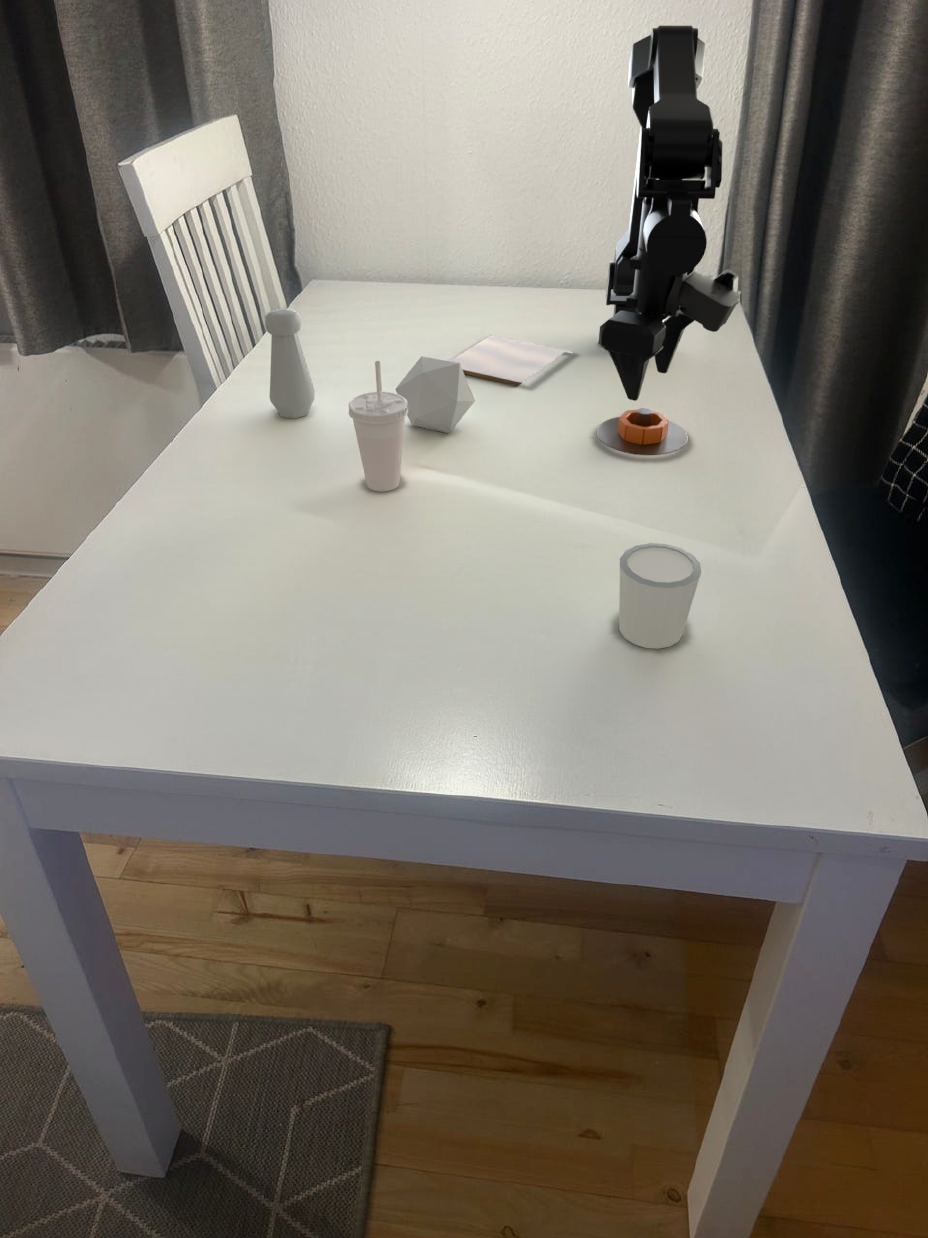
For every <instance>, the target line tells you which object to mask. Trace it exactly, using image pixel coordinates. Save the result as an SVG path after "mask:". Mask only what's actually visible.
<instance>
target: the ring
mask: <svg viewBox="0 0 928 1238" xmlns="http://www.w3.org/2000/svg"><path fill="white" fill-rule="evenodd" d="M638 409H639V408H638ZM638 409H629V410H628V409H627V410H625V411H624V412H623V413H622V414H621V415H620V416H618V417H619V424H618V434H619V435H620V436H621V437H622V438H623V440H625V441H628V442H632V443H636V444H640V445H642V444H643V445H646V444H654V443H659V442H662V440H663V439H664V438H665V437H666V436H667V432H668V425H669V421H670V420H669V418H667V416H665V414H663V413H662V412H660V411H655V410H652V420H651V426H648V427H643V426H638V425H636V418H637V411H638Z"/></svg>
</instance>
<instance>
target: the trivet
mask: <svg viewBox="0 0 928 1238" xmlns="http://www.w3.org/2000/svg"><path fill="white" fill-rule="evenodd" d="M564 353H568V354H569V353H570V354H575V351H571V350H566V349H562V348H558V347H557V348H556V347H552V346H546V345H542V344H537V343H532V342H527V341H522V340H518V339H513V338H509V337H504V336H503V337H501V336H497V335H493V334H490V335H489V336H487V337H485V338H484V339H482V340H480V341H478V343H476V344H474V345H472V346H471V347H469V348H468V349H465V351H463V352H462V353H460V354H458V355H456V356H455V357H454V358H452V359H450V360H449V361H450V362H456V363H460V365H461V368H462V370H463V373H464V375H468V376H472V377H476V378H480V379H484V380H489V381H494V382H498V383H502V384H507V385H511V386H516V387H519V386H521V385H522V384H523V383H525V382H527V380H529V379H530V378H532V377H534V375H535V374H537V373H538V372H540V371H541V370H542V369H544V368H545V367H547V366H548V365H549V364H551V363H553V361H554V360H556V359H558V358H559V357H560V356H562V355H563V354H564Z"/></svg>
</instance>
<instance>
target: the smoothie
mask: <svg viewBox="0 0 928 1238" xmlns="http://www.w3.org/2000/svg"><path fill="white" fill-rule="evenodd" d="M374 369H375V370H374V371H375V385H376V386H375V387H376V391H371V392H365V393H362V394H359V395H357V396H354V397H353V398H352V399H350V401H349V402H348V416H349V418H351V419H352V422H353V428H354V431H355V436H356V441H357V446H358V450H359V455H360V460H361V464H362V469H363V473H364V478H365V483H366V486H367V489H369V490H372V491H374V492H378V493H379V492H380V493H381V492H390V491H394V490H395V489H397V488H398V487H399V486H400V483H401V482H400V481H401V471H402V469H401V468H402V457H403V445H404V436H405V435H404V434H405V422H406V421H405V420H406V416H407V413H408V406H407V400H406V399H405V398H404V397H402V396H400V395H398V394H397V393H395V392H389V391H383V384H382V368H381V361H380V360H376V361H374Z"/></svg>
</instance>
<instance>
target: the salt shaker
mask: <svg viewBox="0 0 928 1238" xmlns="http://www.w3.org/2000/svg"><path fill="white" fill-rule="evenodd" d="M264 325H265V330H266V332H267V333H268V334H270V335H271V342H270V343H271V344H270V373H269V374H270V375H269V376H270V379H269V401H270V403H271V404H272V405H273V407H274V408H275V410H276V411H277V412H278V414H279V415H280V418H286V419H293V420H294V419H298V418H302V417H303V418H304V417H306V416H308V414H309V412H310V410H311V407H312V405H313V403H314V401H315V395H316V390H315V386H314V383H313V380H312V377H311V374H310V371H309V367H308V364H307V360H306V357H305V353H304V351H303V347H302V344H301V342H300V341H301V340H300V338H299V334H298V333H299V332H300V331H301V326H302V321H301V315H300V314H299V313H298V312H297V311H295V310H294V309H290V308H278V309H277V308H276V309H273V310H271V311H269V312H267V314H266V315H265V319H264Z"/></svg>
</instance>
